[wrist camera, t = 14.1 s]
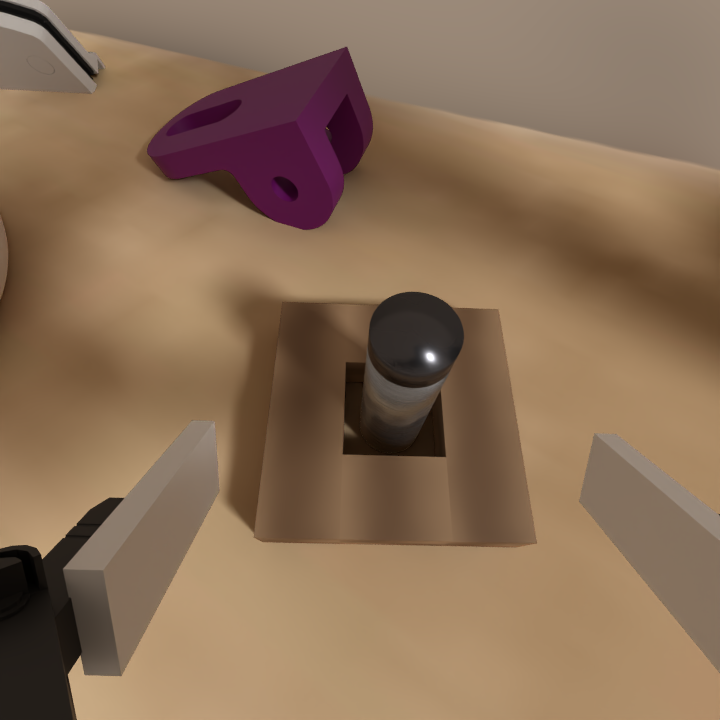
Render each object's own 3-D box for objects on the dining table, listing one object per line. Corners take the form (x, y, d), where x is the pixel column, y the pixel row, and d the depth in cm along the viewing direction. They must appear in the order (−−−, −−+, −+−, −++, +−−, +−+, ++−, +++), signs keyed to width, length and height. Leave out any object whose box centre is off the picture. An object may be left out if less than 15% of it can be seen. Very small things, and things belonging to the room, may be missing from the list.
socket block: (485, 331, 32) (498, 309, 29) (516, 547, 25) (536, 543, 22) (287, 325, 32) (282, 302, 29) (263, 542, 25) (253, 537, 22)
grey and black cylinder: (417, 397, 29) (459, 293, 19) (420, 454, 28) (468, 374, 17) (359, 395, 29) (369, 290, 19) (358, 452, 27) (369, 371, 17)
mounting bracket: (194, 240, 43) (348, 226, 34) (128, 164, 37) (295, 121, 28) (238, 179, 48) (385, 152, 38) (186, 101, 41) (347, 46, 32)
